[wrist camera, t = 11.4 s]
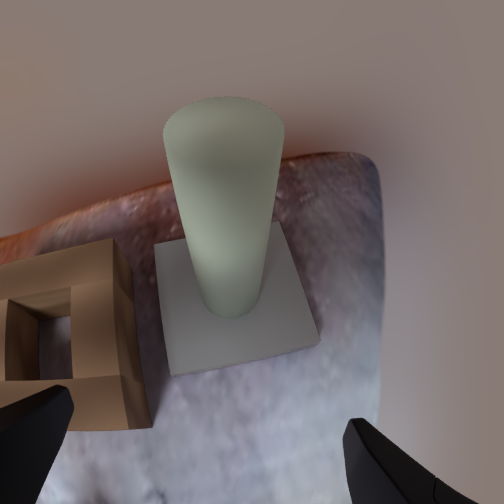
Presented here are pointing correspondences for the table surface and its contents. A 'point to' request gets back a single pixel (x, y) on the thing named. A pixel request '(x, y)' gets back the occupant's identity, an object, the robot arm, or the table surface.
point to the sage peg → (226, 194)
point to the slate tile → (231, 329)
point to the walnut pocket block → (76, 333)
